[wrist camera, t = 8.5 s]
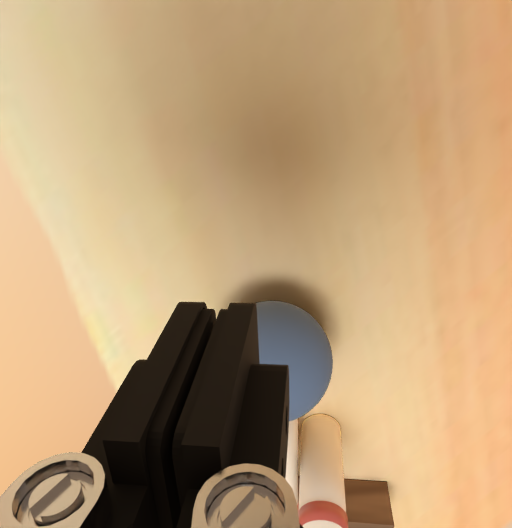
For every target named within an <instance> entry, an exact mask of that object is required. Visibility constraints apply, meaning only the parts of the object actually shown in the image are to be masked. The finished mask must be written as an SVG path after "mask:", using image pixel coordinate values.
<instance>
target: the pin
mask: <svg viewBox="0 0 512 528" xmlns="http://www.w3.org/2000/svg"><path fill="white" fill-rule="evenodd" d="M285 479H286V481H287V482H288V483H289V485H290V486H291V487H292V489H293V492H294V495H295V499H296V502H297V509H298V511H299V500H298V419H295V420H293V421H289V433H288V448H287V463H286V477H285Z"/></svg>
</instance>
